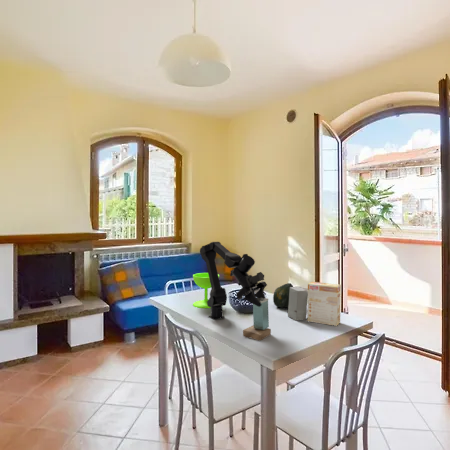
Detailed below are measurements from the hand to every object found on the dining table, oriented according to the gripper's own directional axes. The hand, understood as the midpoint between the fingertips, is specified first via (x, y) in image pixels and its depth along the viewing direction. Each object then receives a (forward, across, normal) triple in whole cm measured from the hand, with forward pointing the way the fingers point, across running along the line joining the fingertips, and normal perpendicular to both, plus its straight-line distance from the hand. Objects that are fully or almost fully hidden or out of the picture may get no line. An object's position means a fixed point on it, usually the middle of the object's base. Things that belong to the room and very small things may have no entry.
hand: (263, 304), depth 149 cm
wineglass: (-28, +22, +47) cm, 59 cm away
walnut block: (+9, -2, +11) cm, 14 cm away
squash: (+1, +48, +19) cm, 52 cm away
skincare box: (+11, +32, +8) cm, 35 cm away
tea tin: (+7, 0, +8) cm, 11 cm away
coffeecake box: (+21, +34, -1) cm, 40 cm away
